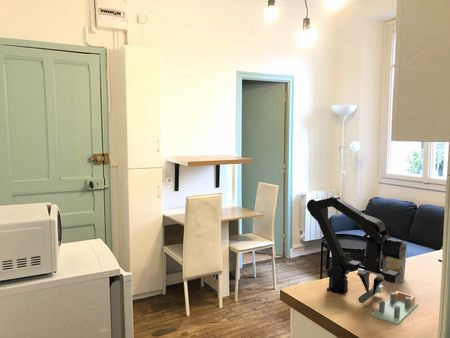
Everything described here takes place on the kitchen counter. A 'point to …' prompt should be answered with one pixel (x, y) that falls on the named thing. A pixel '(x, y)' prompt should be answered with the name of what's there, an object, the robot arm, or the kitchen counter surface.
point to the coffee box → (396, 264)
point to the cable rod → (369, 294)
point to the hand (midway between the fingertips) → (371, 292)
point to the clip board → (395, 307)
